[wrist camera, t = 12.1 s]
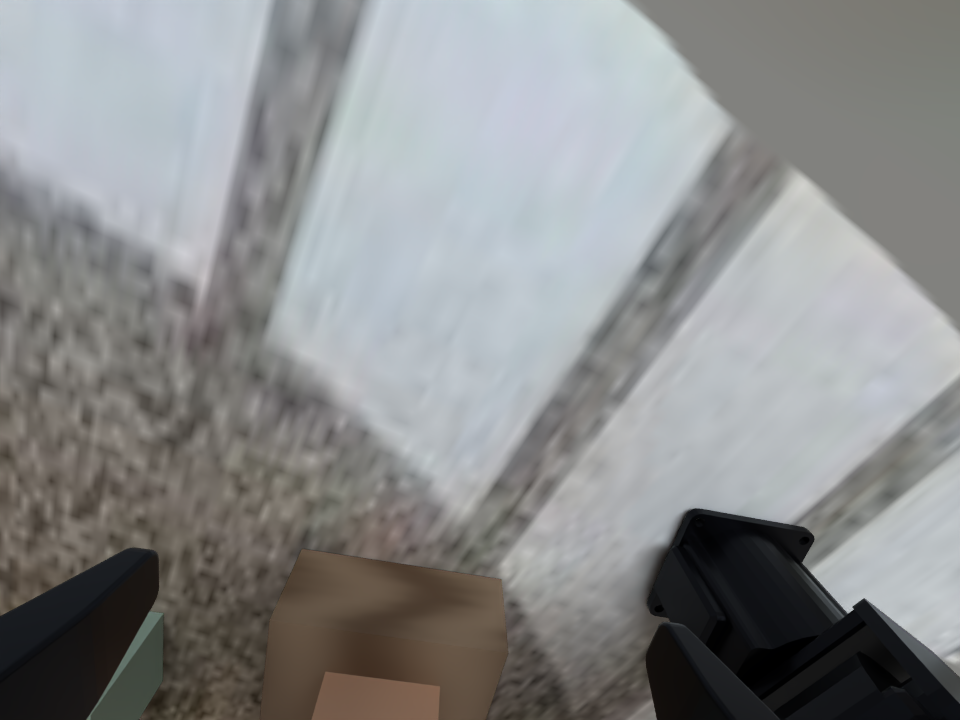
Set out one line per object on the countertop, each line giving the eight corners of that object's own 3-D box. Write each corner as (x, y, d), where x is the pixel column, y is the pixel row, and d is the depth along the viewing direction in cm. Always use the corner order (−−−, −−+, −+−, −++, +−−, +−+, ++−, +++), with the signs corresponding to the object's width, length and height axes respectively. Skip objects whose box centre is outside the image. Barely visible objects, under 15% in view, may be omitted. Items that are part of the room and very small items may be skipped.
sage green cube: (164, 612, 24) (90, 715, 19) (163, 679, 25) (95, 789, 21) (60, 597, 23) (-43, 699, 19) (66, 666, 25) (-27, 777, 20)
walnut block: (501, 579, 24) (508, 652, 20) (460, 711, 27) (459, 795, 23) (301, 548, 23) (269, 620, 19) (284, 689, 26) (254, 774, 22)
